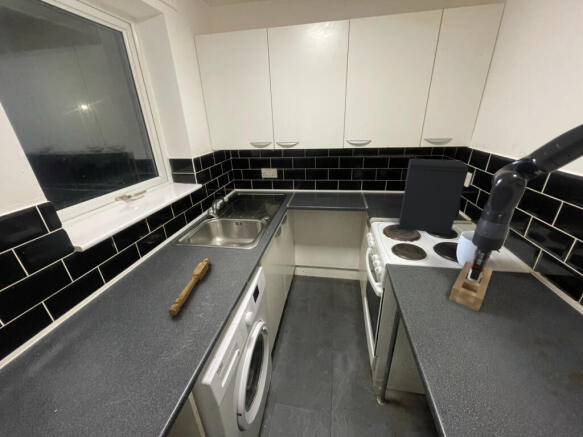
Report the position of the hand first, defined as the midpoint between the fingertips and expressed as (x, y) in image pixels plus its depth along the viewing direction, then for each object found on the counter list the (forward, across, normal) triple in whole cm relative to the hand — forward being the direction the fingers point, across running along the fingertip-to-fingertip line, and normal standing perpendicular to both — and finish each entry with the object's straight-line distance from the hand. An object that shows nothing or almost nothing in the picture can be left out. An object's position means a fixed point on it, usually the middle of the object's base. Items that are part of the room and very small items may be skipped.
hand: (474, 276), depth 79 cm
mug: (+6, +18, +3) cm, 19 cm away
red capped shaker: (+4, 0, 0) cm, 4 cm away
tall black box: (+6, +46, +28) cm, 54 cm away
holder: (+6, 0, 0) cm, 6 cm away
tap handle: (+6, -68, +77) cm, 103 cm away
